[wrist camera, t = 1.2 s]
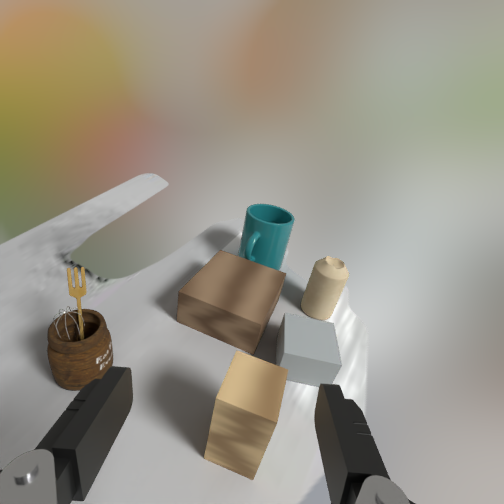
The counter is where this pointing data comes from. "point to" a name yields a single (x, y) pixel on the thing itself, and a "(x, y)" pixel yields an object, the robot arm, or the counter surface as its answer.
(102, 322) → the utensil holder
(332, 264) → the candle
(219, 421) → the oak pillar
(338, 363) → the grey block
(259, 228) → the cup
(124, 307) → the counter surface
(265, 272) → the walnut block
